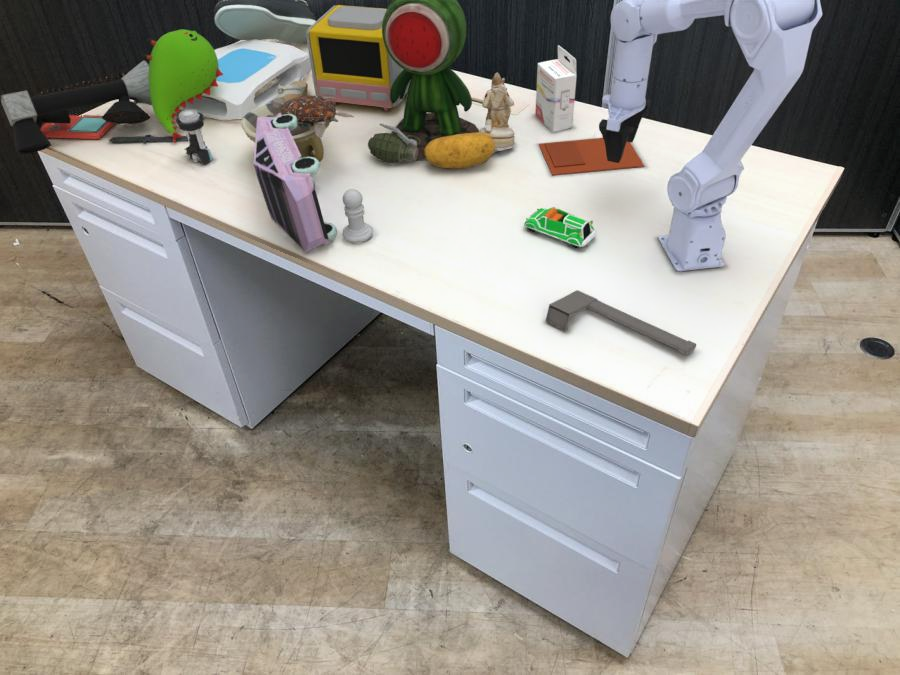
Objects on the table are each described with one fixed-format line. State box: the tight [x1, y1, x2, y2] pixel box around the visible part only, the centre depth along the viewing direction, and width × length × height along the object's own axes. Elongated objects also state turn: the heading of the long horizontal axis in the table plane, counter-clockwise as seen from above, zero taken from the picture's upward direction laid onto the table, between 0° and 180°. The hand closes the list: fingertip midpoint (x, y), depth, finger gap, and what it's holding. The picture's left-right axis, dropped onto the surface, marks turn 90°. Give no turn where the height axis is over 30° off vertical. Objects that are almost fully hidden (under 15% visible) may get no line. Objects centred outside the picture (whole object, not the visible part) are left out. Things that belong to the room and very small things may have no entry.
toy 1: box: [142, 28, 223, 144], centre depth 159 cm, size 13×23×15 cm
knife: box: [108, 134, 188, 144], centre depth 161 cm, size 18×1×3 cm
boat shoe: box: [213, 0, 318, 44], centre depth 187 cm, size 11×30×9 cm
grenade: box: [367, 122, 421, 164], centre depth 150 cm, size 6×7×10 cm
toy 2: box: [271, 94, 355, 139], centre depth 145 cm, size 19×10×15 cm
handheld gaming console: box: [40, 114, 116, 140], centre depth 166 cm, size 9×1×15 cm
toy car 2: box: [523, 206, 597, 249], centre depth 131 cm, size 12×5×4 cm, turn 54°
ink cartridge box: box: [534, 44, 578, 133], centre depth 157 cm, size 9×5×15 cm, turn 22°
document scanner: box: [179, 39, 312, 121], centre depth 175 cm, size 21×28×6 cm
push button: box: [175, 109, 213, 166], centre depth 152 cm, size 7×5×10 cm
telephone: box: [0, 60, 152, 155], centre depth 161 cm, size 15×13×30 cm
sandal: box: [276, 80, 309, 101], centre depth 170 cm, size 7×16×5 cm, turn 167°
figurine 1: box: [382, 0, 480, 161], centre depth 148 cm, size 17×20×30 cm
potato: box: [424, 131, 495, 170], centre depth 148 cm, size 8×14×7 cm, turn 88°
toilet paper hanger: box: [545, 290, 697, 356], centre depth 112 cm, size 20×8×3 cm, turn 49°
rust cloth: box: [538, 137, 645, 177], centre depth 151 cm, size 12×18×1 cm, turn 97°
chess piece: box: [341, 188, 374, 243], centre depth 131 cm, size 5×5×9 cm
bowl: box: [240, 100, 331, 163], centre depth 150 cm, size 18×18×10 cm
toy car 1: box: [253, 113, 338, 253], centre depth 133 cm, size 15×25×10 cm
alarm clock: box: [306, 4, 410, 112], centre depth 167 cm, size 20×16×18 cm
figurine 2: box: [479, 72, 515, 153], centre depth 151 cm, size 7×7×15 cm
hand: (620, 150), depth 133 cm, fingers open, 7 cm apart
